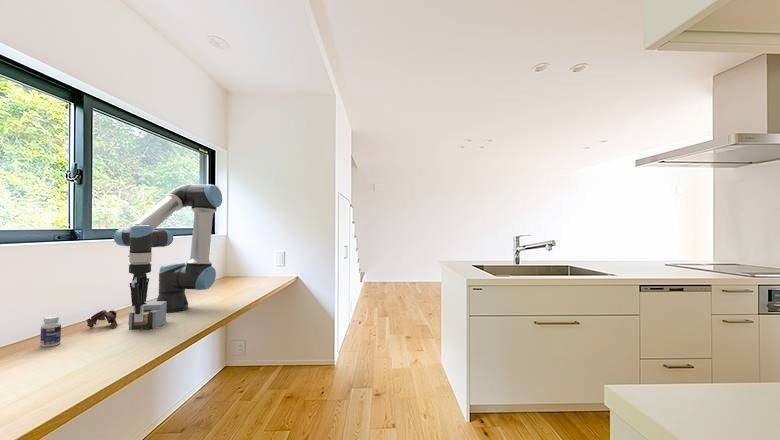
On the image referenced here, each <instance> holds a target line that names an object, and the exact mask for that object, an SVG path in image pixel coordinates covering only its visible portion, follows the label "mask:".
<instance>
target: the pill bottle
mask: <svg viewBox="0 0 780 440" xmlns="http://www.w3.org/2000/svg"><path fill="white" fill-rule="evenodd" d="M61 335H62V323H61V322H60V316H58V315H52V316H46V317H43V323H42V325H40V338H39V339H40V341H39V342H40V343H39V345H40V347H43V348H44V347H45V348H47V347H54V346H57V345H59V344H61V340H62V339H61V337H62V336H61Z"/></svg>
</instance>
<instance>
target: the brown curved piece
mask: <svg viewBox="0 0 780 440" xmlns="http://www.w3.org/2000/svg"><path fill="white" fill-rule="evenodd" d="M116 318H117V312H116V311H115V310H109V311H107V309H106V310H105V309H103V310H100V311H99V312H97V313H95V314H93V315H92V316H91V317H90V318H87V319H85V321H86V323H87V325H86V326H87V327H89V328H91V329H93V327H94V326H97V321H107V323H108V324H110V326H111V328H112V329H114V328H116V327H118V322H117V320H116Z"/></svg>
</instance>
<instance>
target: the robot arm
mask: <svg viewBox="0 0 780 440" xmlns="http://www.w3.org/2000/svg"><path fill="white" fill-rule="evenodd" d="M222 203H223V194H222V191H221V189H220V188H219V187H218V186H217V185H215V184H210V183H206V184H205V183H202V184H201V183H198V184H197V183H188V184H183V185H180V186H178V187H175V188H174V189H172V190H170V191H169V192H168V193H166V194H165V195H164V196H163V199H162V200H161V201H160V202H159V203H158V204H156V205H155V206H154V207H152V208H151V209H150V210H148V211H147V212H146V213H145V214H144V215H142V216H141V217H140V218H139V219H138V220H137V221H135V222H134V223H133V224H131V225H130V226H129V227H128V228H119V229H117V230H116V231H115V233H114V234H113V240H114V243H115V244H116V245H118V246H122V247H129V252H128V253H129V255H127V257H128V262H129V265H128V274H131V275H132V281H131V282H129V288H130V297H131V298H130V299H131V307H134V306H135V310H134V309H133V310H134V322H142V321H143V311H144V305H143V304H146V303H144V302H147V298H148V297H147V296H148V291H149V290H148V288H149V282H150V278H149V277H148V276H147V274H149V273H151V272H152V263H151V262H153V261H152V259H153V258H152V256H153V255H152V254H153V253H152V248H165V247H168V246H170V245H171V244H173V241H174V235H173V233H172V231H171V230H168V229H163V228H162V229H156V228H158V227H159V226H160V225H161V224H162V223H163V222H164V221H166V220H167V219H168V218H169V217H171V216H172V214H174V213H175V212H177V211H180V210H181V209H182V208H185V207H191V211H192V212H193V213H194V214H193V225H192V226H193V227H192V235H191V236H192V237H191V248H190V256H189V258H190V259H189V260H188V261H186V263H185V262H179V263H172V264H165V265H162V266H160V267H159V272H158V296H157V298H156V301H167V307H166V313H176V312H180V311H181V312H182V311H186V310H188V309H189V300H188V298H187V296H186V290H194V291H195V290H196V291H204V290H208V289H210V288H211V287H212V286H213V285H214V283H215V281H216V278H217V271H216V269H215V267H214V266H213V265H212V263H213V262H211V261H210V254H211V253H210V251H211V242H212V241H211V240H212V239H211V238H212V230H213V229H212V228H213V218H214V214H215V213H216V212H217V208H220V206H221V205H222ZM156 301H155V302H156Z"/></svg>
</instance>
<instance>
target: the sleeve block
mask: <svg viewBox="0 0 780 440" xmlns="http://www.w3.org/2000/svg"><path fill="white" fill-rule="evenodd" d="M144 303H146V304H143V305H144V310H152V311H151V312H149V323H147V324H145V325H134V310H135V306H133V310H132V311H129V313H128V330H131V331H137V330H139V331H141V330H156V329H158V328H159V327H161V326H162V325H163V324H164V323H166V322H167V312H166V307H167V301H146V302H144Z"/></svg>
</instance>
